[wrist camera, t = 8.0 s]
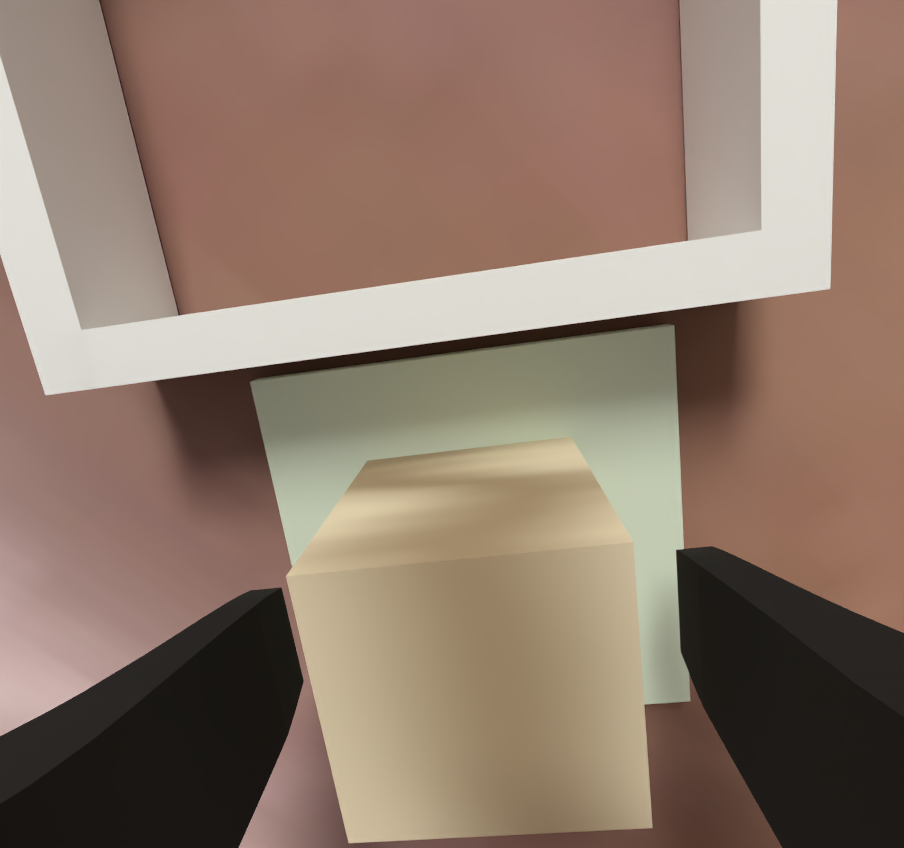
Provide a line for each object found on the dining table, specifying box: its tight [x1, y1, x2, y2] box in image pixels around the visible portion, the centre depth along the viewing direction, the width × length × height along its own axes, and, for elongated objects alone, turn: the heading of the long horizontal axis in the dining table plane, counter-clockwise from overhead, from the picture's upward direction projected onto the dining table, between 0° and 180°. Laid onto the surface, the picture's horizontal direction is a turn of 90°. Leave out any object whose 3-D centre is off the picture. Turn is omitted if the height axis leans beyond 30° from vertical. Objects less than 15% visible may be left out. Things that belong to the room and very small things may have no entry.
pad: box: [250, 324, 690, 704], centre depth 13 cm, size 9×9×1 cm
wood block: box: [286, 437, 653, 843], centre depth 10 cm, size 4×4×5 cm
